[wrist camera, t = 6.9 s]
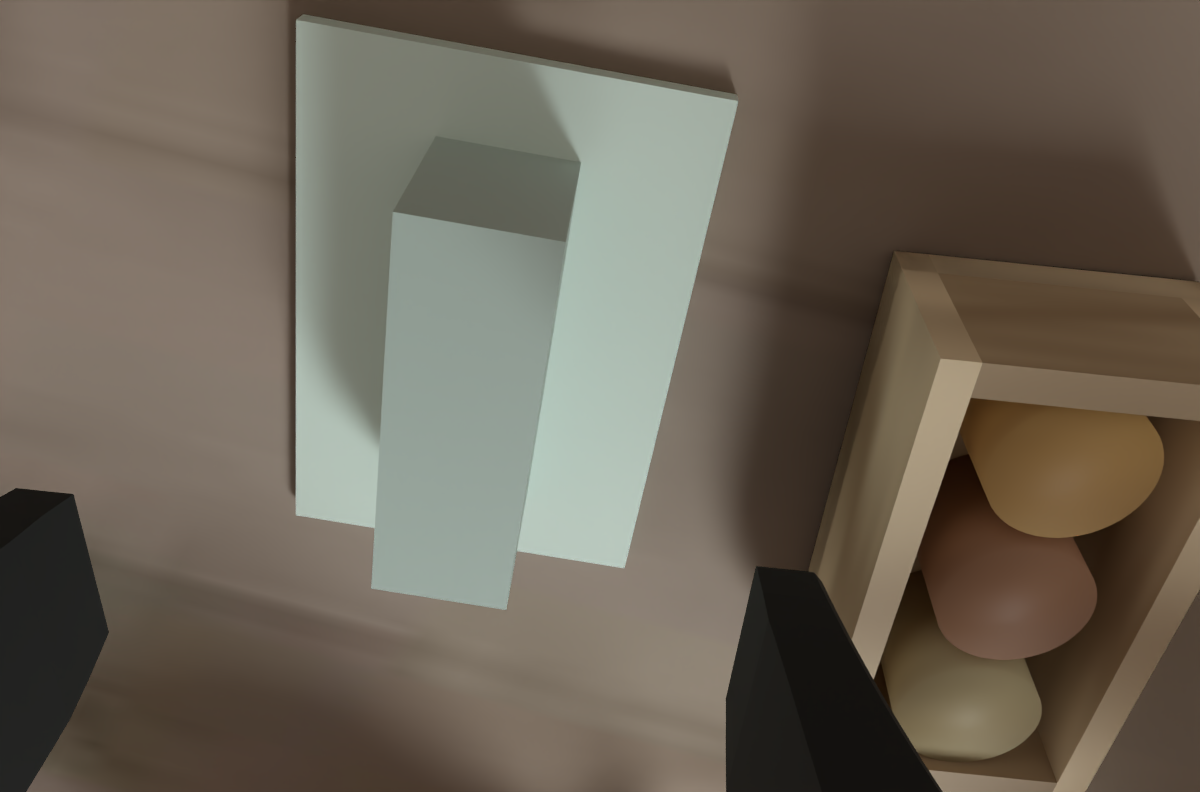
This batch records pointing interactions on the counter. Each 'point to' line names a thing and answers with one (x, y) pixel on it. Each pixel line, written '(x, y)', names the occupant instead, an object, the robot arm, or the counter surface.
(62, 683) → the robot arm
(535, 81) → the lid
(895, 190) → the counter surface
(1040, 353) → the box
